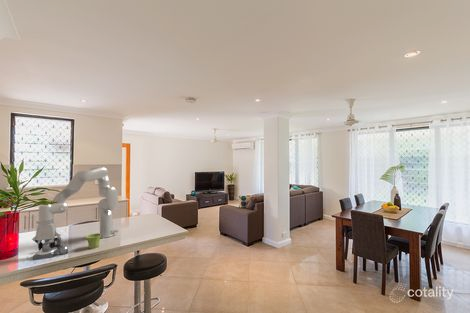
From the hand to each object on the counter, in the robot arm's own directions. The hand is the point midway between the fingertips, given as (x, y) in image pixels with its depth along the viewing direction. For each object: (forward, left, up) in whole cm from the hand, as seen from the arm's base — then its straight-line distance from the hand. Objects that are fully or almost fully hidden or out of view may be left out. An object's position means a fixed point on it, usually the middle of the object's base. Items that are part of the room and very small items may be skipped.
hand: (46, 248), depth 147 cm
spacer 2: (-10, +2, -5) cm, 11 cm away
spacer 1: (0, 0, -2) cm, 2 cm away
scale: (0, -2, -5) cm, 6 cm away
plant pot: (-27, -3, -5) cm, 28 cm away
